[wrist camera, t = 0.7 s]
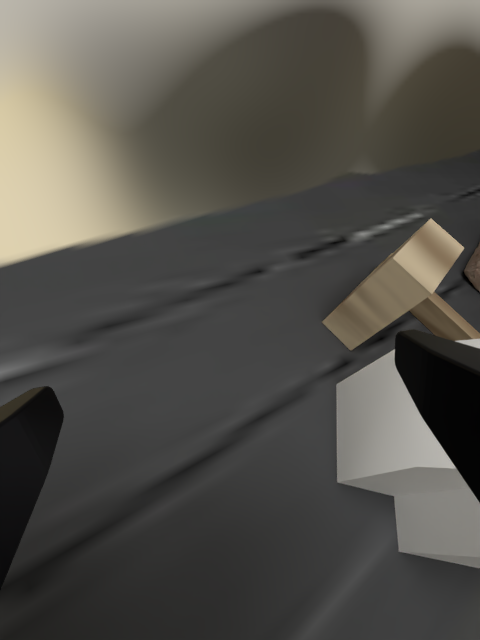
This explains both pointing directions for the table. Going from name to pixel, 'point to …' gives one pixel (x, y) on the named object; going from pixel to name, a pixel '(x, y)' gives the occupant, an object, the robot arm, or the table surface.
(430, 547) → the grey faceted lump
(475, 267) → the brick
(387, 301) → the wooden rack
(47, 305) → the table surface
